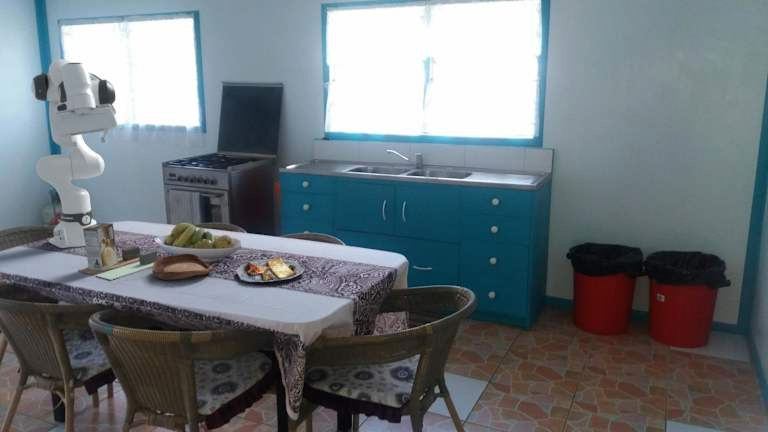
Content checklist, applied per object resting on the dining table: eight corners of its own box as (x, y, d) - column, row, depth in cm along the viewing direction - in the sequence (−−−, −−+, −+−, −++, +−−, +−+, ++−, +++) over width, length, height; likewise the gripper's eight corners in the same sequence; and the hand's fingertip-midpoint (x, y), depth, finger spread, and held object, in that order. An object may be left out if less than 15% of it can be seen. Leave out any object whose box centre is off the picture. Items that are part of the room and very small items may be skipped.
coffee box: (103, 262, 236) (98, 222, 233) (118, 263, 235) (113, 223, 231) (88, 270, 228) (82, 228, 224) (103, 271, 226) (98, 229, 223)
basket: (223, 275, 223) (222, 262, 222) (171, 289, 209) (170, 275, 208) (193, 262, 238) (191, 249, 237) (143, 274, 225) (141, 261, 224)
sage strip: (95, 276, 222) (94, 264, 221) (148, 260, 241) (146, 249, 239) (111, 280, 217) (109, 268, 216) (163, 263, 236) (162, 252, 235)
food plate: (231, 268, 229) (231, 259, 228) (292, 260, 238) (291, 252, 237) (244, 291, 207) (244, 281, 206) (310, 282, 216) (310, 272, 215)
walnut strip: (78, 271, 228) (77, 259, 227) (131, 255, 246) (129, 245, 245) (93, 275, 223) (91, 263, 222) (145, 259, 242) (144, 248, 241)
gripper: (115, 105, 218) (122, 142, 217) (53, 114, 212) (60, 152, 211) (112, 99, 212) (120, 137, 211) (48, 108, 206) (55, 147, 205)
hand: (89, 145), depth 211 cm, fingers open, 8 cm apart
